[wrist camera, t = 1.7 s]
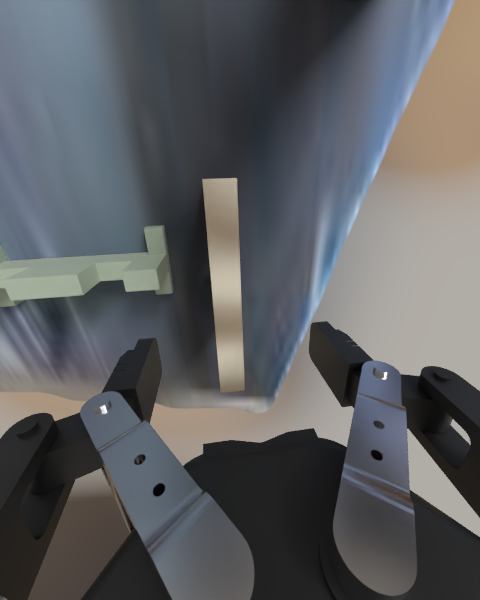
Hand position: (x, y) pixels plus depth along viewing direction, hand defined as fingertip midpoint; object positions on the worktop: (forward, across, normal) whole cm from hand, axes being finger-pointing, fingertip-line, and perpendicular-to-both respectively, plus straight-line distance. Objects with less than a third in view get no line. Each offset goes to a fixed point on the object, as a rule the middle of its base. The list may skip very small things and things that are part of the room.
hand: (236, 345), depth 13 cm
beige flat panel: (+20, 0, 0) cm, 20 cm away
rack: (+20, +16, 0) cm, 26 cm away
